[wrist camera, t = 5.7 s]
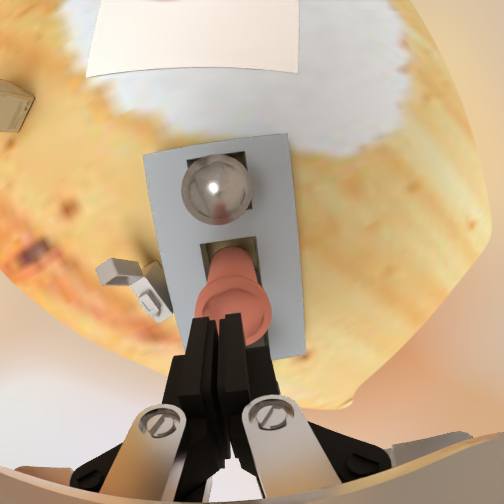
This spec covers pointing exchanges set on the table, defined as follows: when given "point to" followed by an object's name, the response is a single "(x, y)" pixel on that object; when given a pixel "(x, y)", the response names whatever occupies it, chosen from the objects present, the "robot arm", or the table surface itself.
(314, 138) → the table surface
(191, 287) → the socket board
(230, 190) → the plug grey
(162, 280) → the grey white bent piece
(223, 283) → the plug red
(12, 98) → the skincare box
